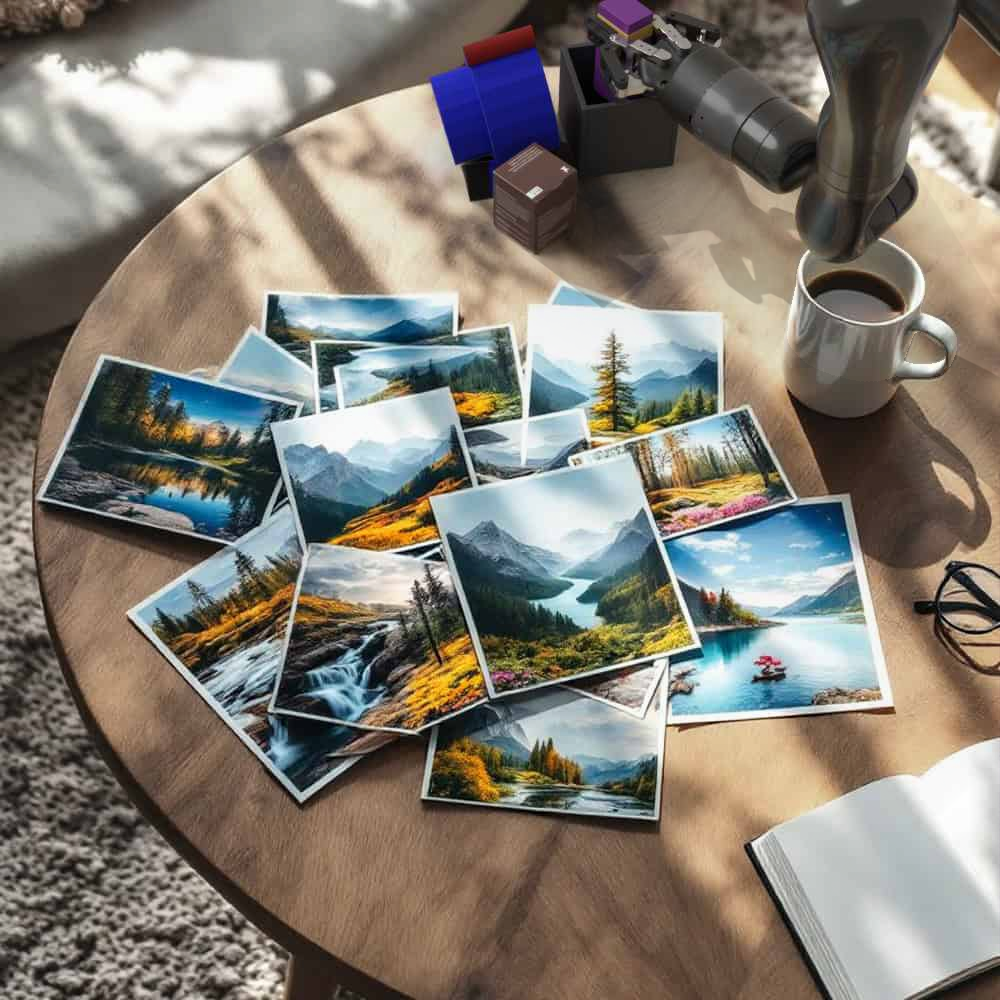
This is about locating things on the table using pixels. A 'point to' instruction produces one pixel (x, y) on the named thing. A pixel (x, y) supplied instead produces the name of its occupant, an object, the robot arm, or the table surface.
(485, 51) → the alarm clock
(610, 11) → the perfume bottle
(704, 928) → the table surface
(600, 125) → the bin
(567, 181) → the box
